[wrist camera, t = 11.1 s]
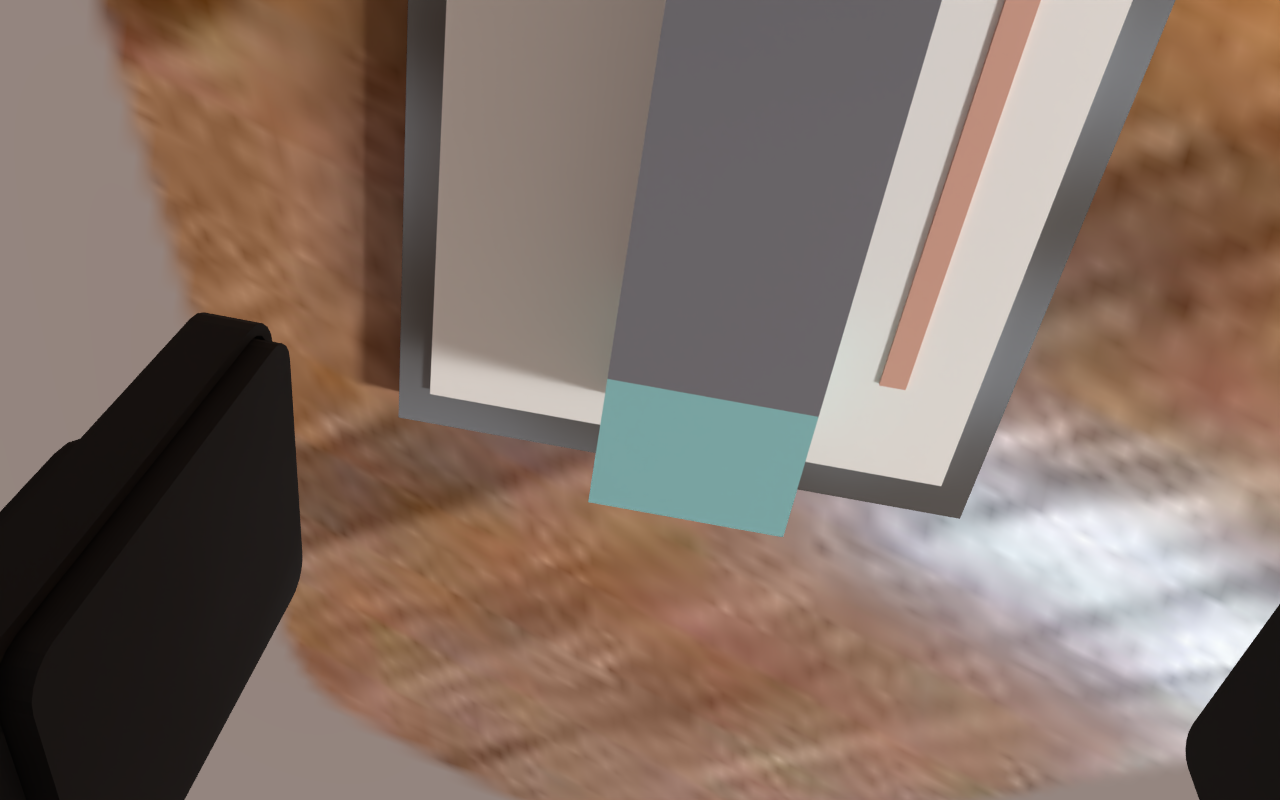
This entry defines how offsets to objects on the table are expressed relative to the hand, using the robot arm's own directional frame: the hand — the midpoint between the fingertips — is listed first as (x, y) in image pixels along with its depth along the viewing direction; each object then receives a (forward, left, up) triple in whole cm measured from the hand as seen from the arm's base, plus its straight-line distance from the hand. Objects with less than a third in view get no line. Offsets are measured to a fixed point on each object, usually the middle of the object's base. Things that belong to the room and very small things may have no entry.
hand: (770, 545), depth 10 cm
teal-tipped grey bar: (+1, 0, -13) cm, 13 cm away
